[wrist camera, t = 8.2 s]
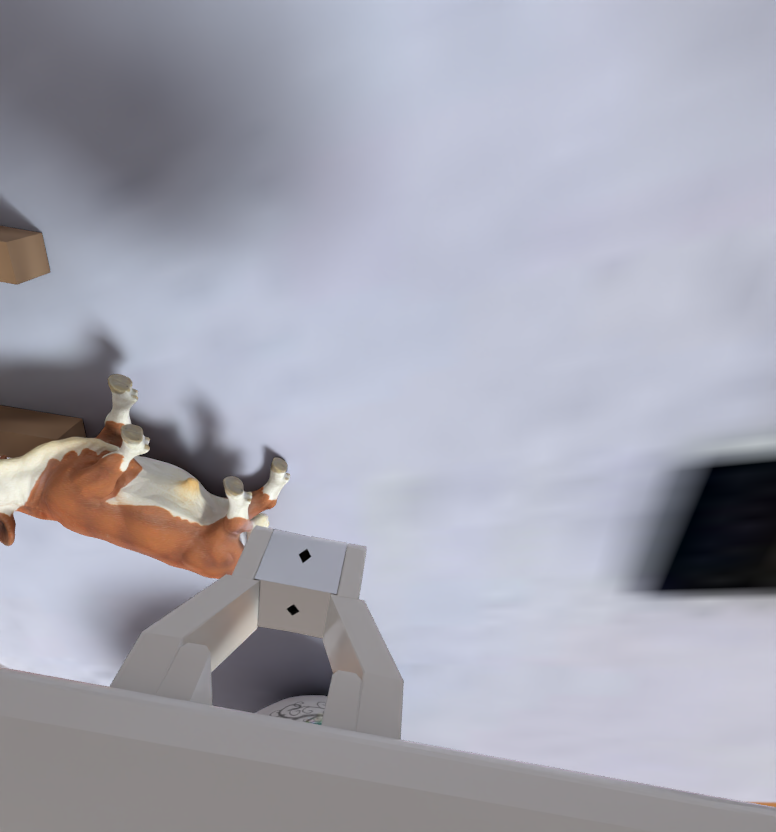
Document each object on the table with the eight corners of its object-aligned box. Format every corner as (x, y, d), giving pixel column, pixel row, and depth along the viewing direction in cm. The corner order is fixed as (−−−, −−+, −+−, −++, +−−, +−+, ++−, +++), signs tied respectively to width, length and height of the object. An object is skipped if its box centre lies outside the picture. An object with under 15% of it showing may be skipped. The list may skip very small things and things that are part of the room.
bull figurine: (-50, 390, 14) (-108, 533, 17) (314, 528, 21) (222, 611, 24) (17, 321, 17) (-42, 452, 21) (312, 460, 24) (232, 541, 27)
